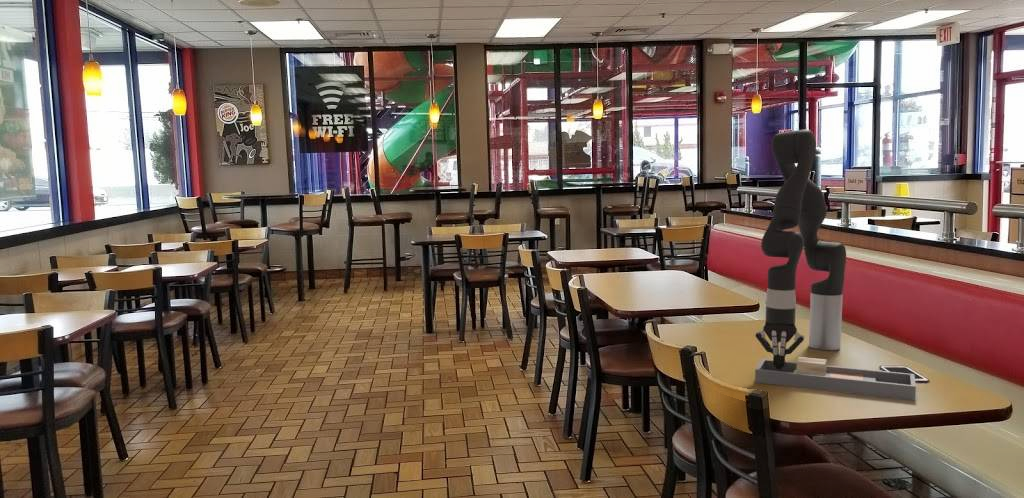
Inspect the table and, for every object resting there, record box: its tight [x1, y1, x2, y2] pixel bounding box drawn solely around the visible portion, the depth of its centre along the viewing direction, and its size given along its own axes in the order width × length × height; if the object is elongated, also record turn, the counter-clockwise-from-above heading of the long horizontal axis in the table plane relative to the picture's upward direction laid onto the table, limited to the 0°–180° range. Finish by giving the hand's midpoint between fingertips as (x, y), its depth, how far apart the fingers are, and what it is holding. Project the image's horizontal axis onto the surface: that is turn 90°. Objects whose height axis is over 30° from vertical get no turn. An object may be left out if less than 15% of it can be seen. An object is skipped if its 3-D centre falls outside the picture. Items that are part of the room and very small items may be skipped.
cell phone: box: [878, 365, 930, 384], centre depth 213 cm, size 8×15×1 cm, turn 177°
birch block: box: [796, 356, 828, 376], centre depth 206 cm, size 5×7×4 cm
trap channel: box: [754, 358, 917, 401], centre depth 204 cm, size 12×38×4 cm, turn 64°
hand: (778, 368), depth 210 cm, fingers closed
